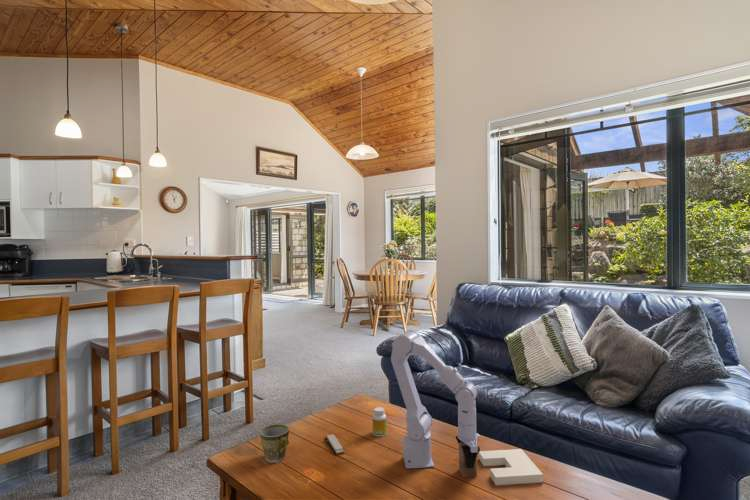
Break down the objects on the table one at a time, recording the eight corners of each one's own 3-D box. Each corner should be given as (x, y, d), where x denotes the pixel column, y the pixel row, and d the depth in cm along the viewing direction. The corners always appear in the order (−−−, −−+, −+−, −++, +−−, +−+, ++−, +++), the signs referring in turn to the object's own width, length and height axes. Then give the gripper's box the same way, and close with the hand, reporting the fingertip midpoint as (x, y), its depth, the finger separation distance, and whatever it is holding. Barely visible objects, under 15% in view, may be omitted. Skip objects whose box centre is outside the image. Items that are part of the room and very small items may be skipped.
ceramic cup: (255, 458, 143) (254, 430, 143) (279, 448, 151) (278, 421, 150) (276, 472, 134) (275, 442, 134) (300, 460, 142) (300, 431, 142)
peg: (463, 476, 130) (462, 448, 130) (459, 469, 134) (458, 442, 134) (476, 475, 130) (476, 447, 130) (472, 468, 135) (472, 441, 134)
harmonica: (325, 438, 158) (324, 433, 158) (332, 437, 159) (332, 432, 159) (336, 457, 144) (336, 451, 144) (344, 455, 146) (344, 449, 146)
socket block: (495, 485, 125) (495, 477, 125) (479, 458, 141) (478, 451, 140) (543, 482, 126) (543, 474, 126) (521, 456, 142) (521, 448, 142)
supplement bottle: (385, 437, 157) (384, 412, 157) (371, 436, 158) (371, 411, 158) (387, 431, 162) (387, 406, 162) (374, 430, 163) (373, 406, 163)
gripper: (487, 431, 125) (487, 475, 125) (472, 411, 140) (472, 451, 140) (464, 432, 125) (465, 476, 125) (451, 412, 139) (452, 452, 139)
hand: (467, 463), depth 132 cm, fingers closed on peg, 4 cm apart
